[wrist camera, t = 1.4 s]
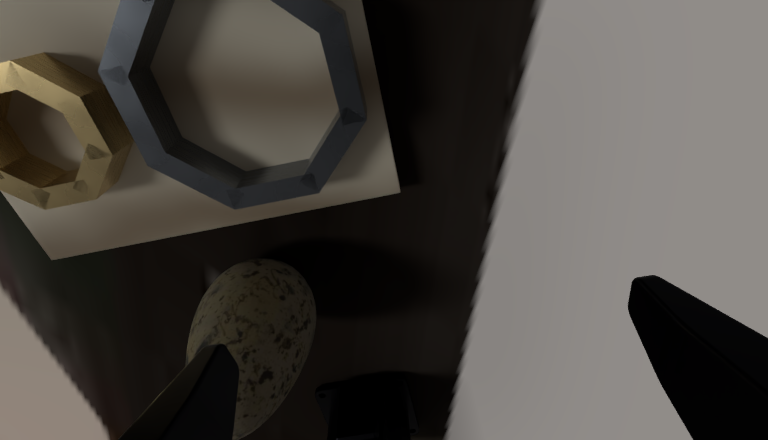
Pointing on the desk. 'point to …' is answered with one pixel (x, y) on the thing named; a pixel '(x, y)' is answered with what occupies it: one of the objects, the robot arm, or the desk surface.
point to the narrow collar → (88, 121)
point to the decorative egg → (258, 333)
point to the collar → (193, 163)
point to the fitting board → (197, 114)
